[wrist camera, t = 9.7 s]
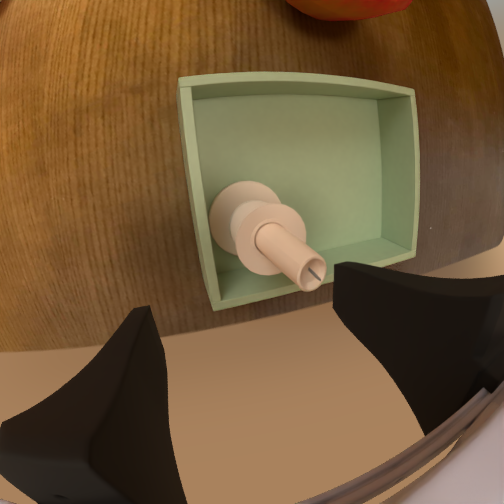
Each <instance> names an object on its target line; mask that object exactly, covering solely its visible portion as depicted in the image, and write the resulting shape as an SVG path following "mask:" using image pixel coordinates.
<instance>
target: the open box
mask: <svg viewBox="0 0 504 504" xmlns="http://www.w3.org/2000/svg"><path fill="white" fill-rule="evenodd" d="M414 96H415V92H414V89H411V88H407V87H402V86H398V85H393V84H388V83H383V82H377V81H371V80H365V79H359V78H351V77H344V76H335V75H325V74H313V73H295V72H237V73H220V74H207V75H197V76H188V77H180V78H179V79H178V86H177V94H176V99H177V109H178V118H179V127H180V135H181V143H182V151H183V159H184V166H185V173H186V180H187V187H188V194H189V200H190V207H191V213H192V219H193V225H194V231H195V237H196V242H197V248H198V254H199V259H200V264H201V270H202V275H203V280H204V283H205V287H206V290H207V293H208V296H209V299H210V303H211V306H212V309H213V311H217V310H222V309H226V308H231V307H235V306H239V305H244V304H248V303H252V302H256V301H260V300H264V299H268V298H272V297H276V296H280V295H284V294H288V293H292V292H296V291H300V290H301V289H300V288H299V286H298V285H296V284H295V283H294V282H293V281H292V280H291V279H289V278H288V277H287V276H286V275H285V274H284V273H283V272H281V273H279V274H275V275H269V276H268V275H259V274H257V273H254V272H251V271H250V270H249V269H248V268H246V267H245V266H244V265H243V263H242V262H241V261H240V259H239V257H238V256H236V255H233V254H230V253H228V252H226V251H224V250H223V249H222V248H220V247H219V246H218V245H217V243H216V242H215V241H214V239H213V238H212V236H211V233H210V230H209V223H208V214H209V209H210V206H211V204H212V202H213V200H214V198H215V197H216V196H217V194H218V193H219V192H220V191H221V190H222V189H224V188H225V187H227V186H228V185H230V184H232V183H235V182H238V181H249V180H250V181H254V182H259V183H262V184H263V185H265V186H267V187H269V188H270V189H271V190H272V191H273V192H274V193H275V194H276V195H277V197H278V198H279V200H280V202H281V204H283V205H287V206H288V207H290V208H292V209H294V210H295V211H296V212H297V213H298V214H299V215H300V216H301V218H302V220H303V222H304V224H305V229H306V244H307V245H308V246H309V247H310V248H312V249H313V250H314V251H315V252H317V253H318V254H319V255H320V256H321V257H322V258H323V259H324V260H325V262H326V266H327V272H326V276H325V279H324V281H323V282H322V284H326V283H329V282H333V281H334V264H338V263H341V262H345V261H350V262H358V263H363V264H368V265H372V266H377V267H384V266H387V265H391V264H394V263H397V262H400V261H403V260H406V259H409V258H413V257H415V254H416V244H417V233H418V220H419V199H420V152H419V132H418V119H417V109H416V100H415V97H414ZM322 284H321V285H322Z"/></svg>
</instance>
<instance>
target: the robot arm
mask: <svg viewBox="0 0 504 504" xmlns="http://www.w3.org/2000/svg"><path fill="white" fill-rule="evenodd" d="M333 309H334V310H335V312H336V313H337V315H338V316H339V318H340V319H341V321H342V322H343V323H344V325H345V326H346V327H347V328H348V329H349V330H350V331H351V332H352V333H353V334H354V336H356V338H357V339H358V340H359V341H360V342H361V343H362V344H363V345H364V346H365V347H366V348H367V349H368V350H369V351H370V352H371V353H372V354H373V355H374V356H375V357H376V358H377V359H378V361H379V362H380V363H381V364H382V365H383V367H384V368H385V369H386V371H387V372H388V373H389V375H390V376H391V378H392V379H393V380H394V382H395V383H396V385H397V386H398V388H399V389H400V391H401V392H402V394H403V395H404V397H405V399H406V400H407V402H408V404H409V406H410V407H411V409H412V411H413V413H414V414H415V416H416V418H417V420H418V422H419V424H420V427H421V429H422V431H423V433H424V435H425V437H424V438H422V439H421V440H419V441H418V442H416V443H415V444H413V445H412V446H411V447H409V448H407V449H406V450H404V451H403V452H401V453H400V454H398V455H396V456H395V457H393V458H392V459H390V460H388V461H387V462H385V463H383V464H381V465H380V466H378V467H376V468H374V469H372V470H371V471H369V472H367V473H365V474H363V475H361V476H359V477H357V478H355V479H353V480H351V481H349V482H347V483H345V484H343V485H341V486H338V487H336V488H334V489H332V490H329V491H327V492H324V493H322V494H320V495H317V496H315V497H312V498H309V499H307V500H304V501H301V502H298V503H295V504H363V503H365V502H366V501H368V500H370V499H372V498H374V497H376V496H377V495H379V494H381V493H383V492H384V491H386V490H388V489H389V488H391V487H393V486H394V485H396V484H398V483H399V482H401V481H402V480H404V479H405V478H407V477H408V476H410V475H411V474H413V473H414V472H416V471H417V470H419V469H420V468H421V467H423V466H424V465H425V464H427V463H428V462H429V461H430V460H432V459H433V458H435V457H436V456H437V455H439V454H440V453H441V452H442V451H443V450H445V449H446V448H447V447H448V446H449V445H451V444H452V443H453V442H454V441H455V440H457V439H458V438H459V437H460V436H461V435H462V434H463V433H464V432H465V433H464V434H463V435H462V436H461V437H460V438H459V439H458V441H457V442H456V444H455V445H454V447H453V448H452V450H451V451H450V452H449V453H448V454H447V456H446V457H445V458H444V459H442V460H441V461H440V462H439V463H437V464H436V465H435V466H433V467H432V468H431V469H429V470H428V471H427V472H426V473H424V474H423V475H422V476H420V477H419V478H417V479H416V480H415V481H413V482H412V483H411V484H409V485H408V486H406V487H405V488H403V489H402V490H400V491H399V492H397V493H396V494H394V495H393V496H391V497H390V498H388V499H386V500H385V501H383V502H382V503H380V504H504V275H500V276H494V277H486V278H473V279H450V278H436V277H428V276H420V275H415V274H409V273H404V272H399V271H394V270H390V269H386V268H381V267H377V266H372V265H368V264H363V263H358V262H350V261H345V262H341V263H338V264H334V285H333ZM167 383H168V381H167V367H166V360H165V353H164V348H163V345H162V342H161V339H160V336H159V333H158V330H157V327H156V324H155V321H154V318H153V315H152V312H151V308H150V305H148V306H143V307H138V308H134V309H133V310H132V311H131V312H130V313H129V315H128V316H127V317H126V318H125V320H124V321H123V323H122V324H121V325H120V326H119V328H118V329H117V330H116V332H115V333H114V334H113V336H112V337H111V338H110V339H109V341H108V342H107V343H106V344H105V345H104V347H103V348H102V349H101V350H100V351H99V353H98V354H97V355H96V356H95V357H94V358H93V359H92V360H91V361H90V362H89V363H88V365H86V366H85V367H84V368H83V369H82V370H81V371H80V372H79V373H78V374H77V375H76V376H75V377H73V378H72V379H71V380H70V381H68V383H66V384H65V385H64V386H62V387H61V388H60V389H59V390H58V391H56V392H55V393H53V394H52V395H50V396H49V397H47V398H46V399H44V400H43V401H41V402H40V403H38V404H36V405H35V406H33V407H31V408H30V409H28V410H26V411H24V412H22V413H20V414H19V415H16V416H14V417H12V418H10V419H8V420H6V421H4V422H2V424H1V427H0V474H1V475H2V476H3V477H4V478H5V479H6V480H7V481H9V482H10V483H11V484H12V485H14V486H15V487H16V488H18V489H19V490H20V491H22V492H23V493H24V494H26V495H27V496H29V497H30V498H31V499H33V500H34V501H36V502H37V503H38V504H187V501H186V497H185V494H184V491H183V487H182V484H181V480H180V477H179V473H178V469H177V464H176V460H175V456H174V451H173V446H172V441H171V436H170V428H169V415H168V384H167ZM0 504H16V503H12V502H9V501H6V500H3V499H0Z"/></svg>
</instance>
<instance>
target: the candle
mask: <svg viewBox="0 0 504 504" xmlns="http://www.w3.org/2000/svg"><path fill="white" fill-rule="evenodd" d="M208 223H209V230H210V233H211V236H212V238H213V239H214V241H215V242H216V243H217V245H218V246H219V247H220V248H222V249H223V250H224V251H226V252H228V253H230V254H233V255H236V256H238V257H239V259H240V261H241V262H242V263H243V265H244V266H245V267H246V268H248V269H249V270H250V271H251V272H254V273H257V274H259V275H268V276H269V275H275V274H279V273H281V272H283V273H284V274H285V275H286V276H287V277H288V278H289V279H291V280H292V281H293V282H294V283H295V284H296V285H298V286H299V288H300V289H301V290H303V291H306V292H310V291H313V290H315V289H317V288H318V287H319V286H320V285H321V284H322V282H323V281H324V279H325V276H326V272H327V266H326V262H325V260H324V259H323V258H322V257H321V256H320V255H319V254H318V253H317V252H315V251H314V250H313V249H312V248H310V247H309V246H308V245H307V244H306V229H305V224H304V222H303V220H302V218H301V216H300V215H299V214H298V213H297V212H296V211H295V210H294V209H292V208H290V207H288V206H287V205H283V204H281V202H280V200H279V198H278V197H277V195H276V194H275V193H274V192H273V191H272V190H271V189H270V188H269V187H267V186H265V185H263V184H262V183H259V182H254V181H250V180H249V181H238V182H235V183H232V184H230V185H228V186H227V187H225V188H224V189H222V190H221V191H220V192H219V193H218V194H217V196H216V197H215V198H214V200H213V202H212V204H211V206H210V209H209V214H208Z"/></svg>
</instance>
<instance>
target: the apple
mask: <svg viewBox="0 0 504 504" xmlns="http://www.w3.org/2000/svg"><path fill="white" fill-rule="evenodd" d="M286 1H287V2H288V3H289V4H290V5H292V6H293V7H295V8H296V9H298V10H299V11H301V12H302V13H304V14H307V15H309V16H311V17H314V18H316V19H318V20H327V21H345V20H362V19H368V18H374V17H378V16H382V15H385V14H389V13H393V12H397V11H401V10H405V9H406V8H407V7H408V6H409V4H410V3H411V2H412V1H413V0H286Z"/></svg>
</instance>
